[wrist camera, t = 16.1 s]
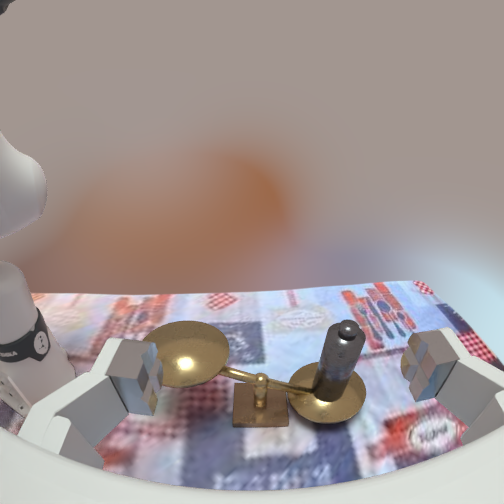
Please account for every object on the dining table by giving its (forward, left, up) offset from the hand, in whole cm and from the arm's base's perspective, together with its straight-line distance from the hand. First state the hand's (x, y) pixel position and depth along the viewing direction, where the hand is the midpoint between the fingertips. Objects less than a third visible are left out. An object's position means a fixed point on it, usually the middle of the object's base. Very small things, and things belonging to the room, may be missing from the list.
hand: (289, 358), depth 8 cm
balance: (0, +20, -32) cm, 38 cm away
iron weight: (+10, +20, -28) cm, 36 cm away
